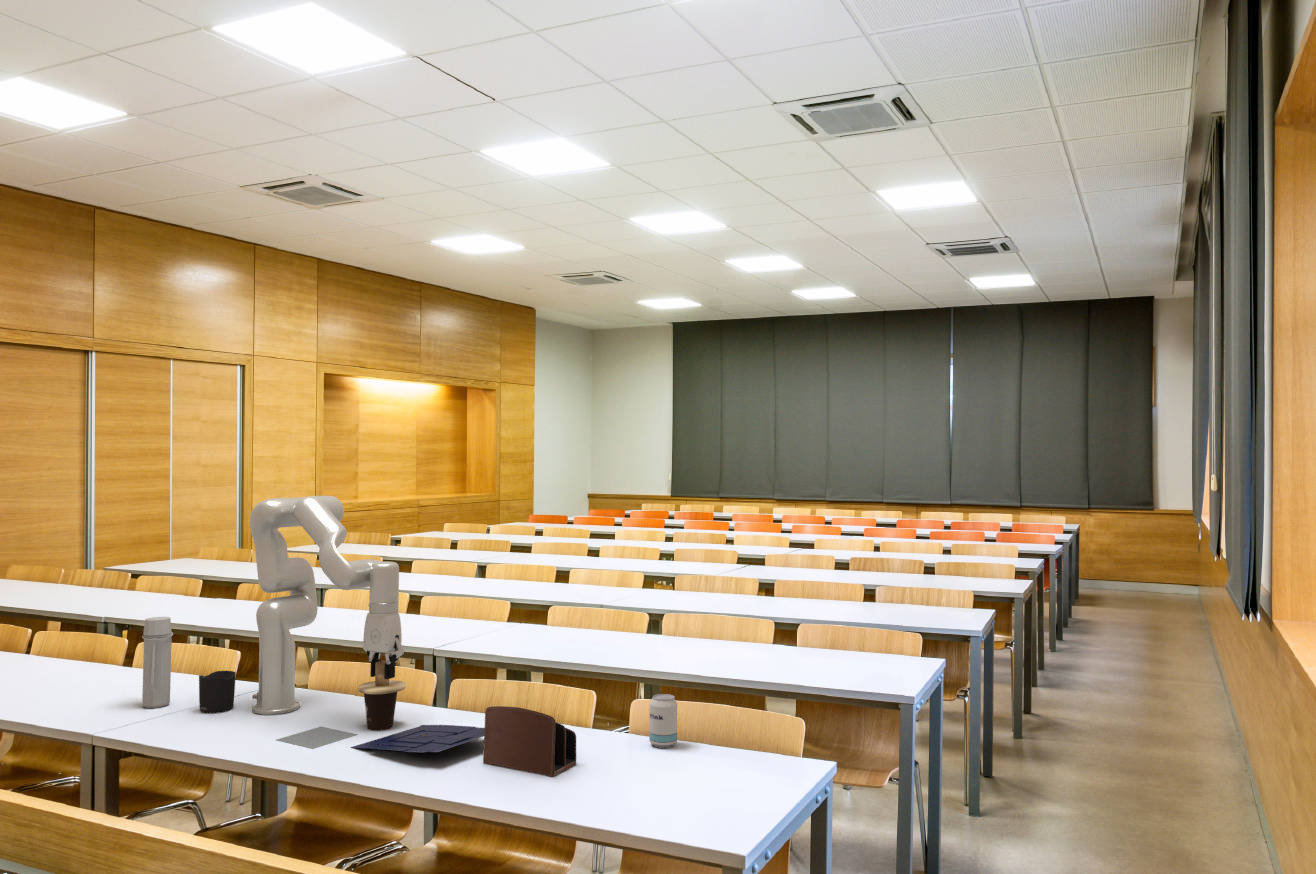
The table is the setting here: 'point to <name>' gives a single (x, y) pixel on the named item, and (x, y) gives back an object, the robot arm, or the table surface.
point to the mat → (316, 737)
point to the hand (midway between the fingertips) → (382, 676)
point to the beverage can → (663, 721)
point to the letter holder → (527, 741)
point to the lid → (381, 682)
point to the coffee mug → (380, 710)
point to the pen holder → (217, 691)
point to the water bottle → (157, 662)
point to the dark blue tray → (426, 738)
